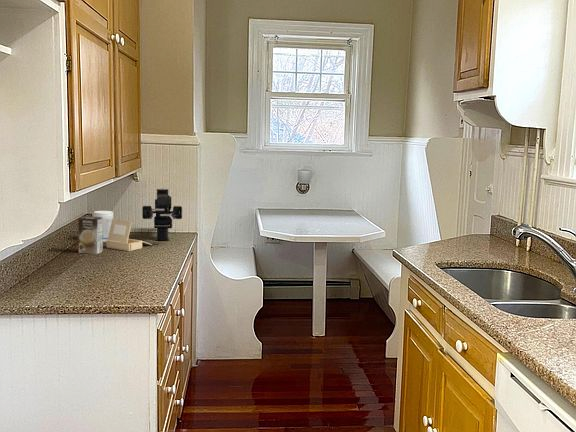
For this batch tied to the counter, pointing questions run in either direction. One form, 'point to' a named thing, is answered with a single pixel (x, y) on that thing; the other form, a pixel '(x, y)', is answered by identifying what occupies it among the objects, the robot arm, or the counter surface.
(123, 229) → the flap
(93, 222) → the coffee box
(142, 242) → the carton
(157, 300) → the counter surface
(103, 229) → the supplement tub
